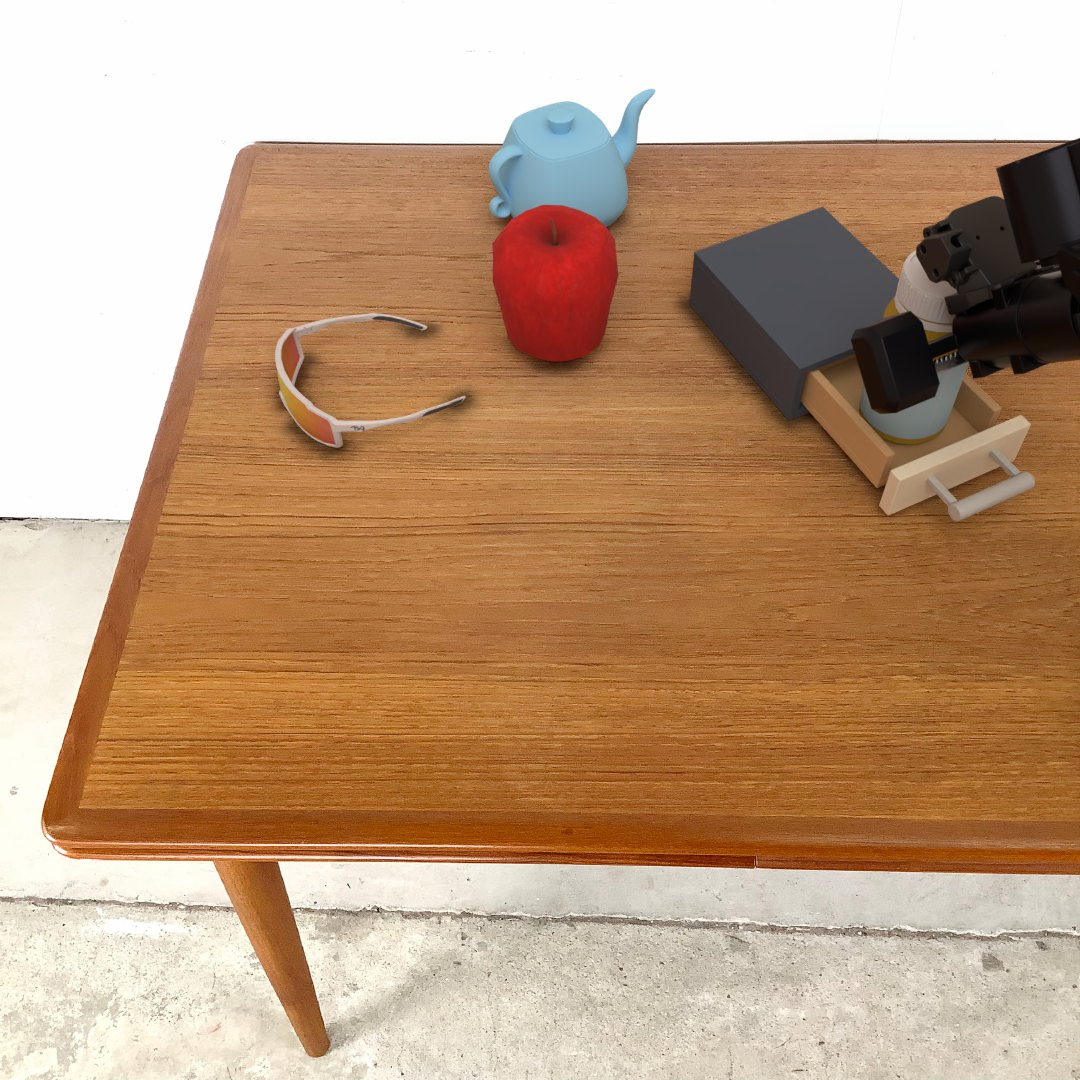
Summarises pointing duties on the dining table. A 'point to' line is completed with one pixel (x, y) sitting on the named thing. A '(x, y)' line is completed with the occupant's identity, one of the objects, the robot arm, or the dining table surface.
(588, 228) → the apple
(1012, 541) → the dining table surface
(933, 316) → the bottle
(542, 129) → the teapot
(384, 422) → the sunglasses
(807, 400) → the drawer
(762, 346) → the cabinet
